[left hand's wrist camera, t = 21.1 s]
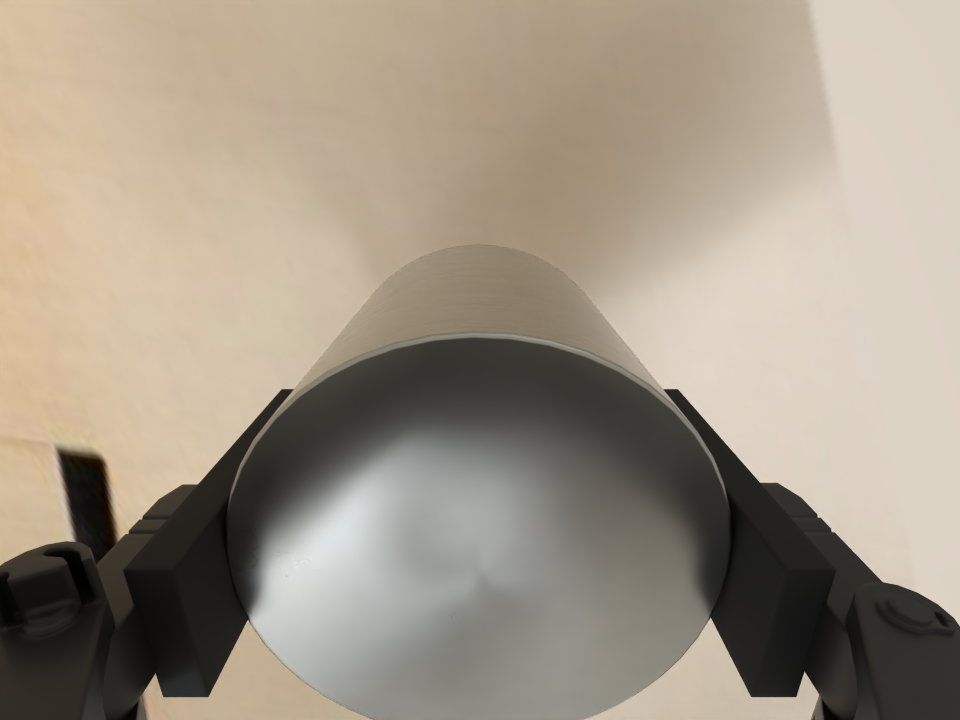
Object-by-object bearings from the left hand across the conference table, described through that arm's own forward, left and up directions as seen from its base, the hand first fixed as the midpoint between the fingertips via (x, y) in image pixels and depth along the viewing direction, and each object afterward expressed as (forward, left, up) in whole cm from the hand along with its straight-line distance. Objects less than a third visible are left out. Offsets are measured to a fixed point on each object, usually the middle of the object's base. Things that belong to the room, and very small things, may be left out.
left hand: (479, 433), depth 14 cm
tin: (0, 0, -4) cm, 4 cm away
